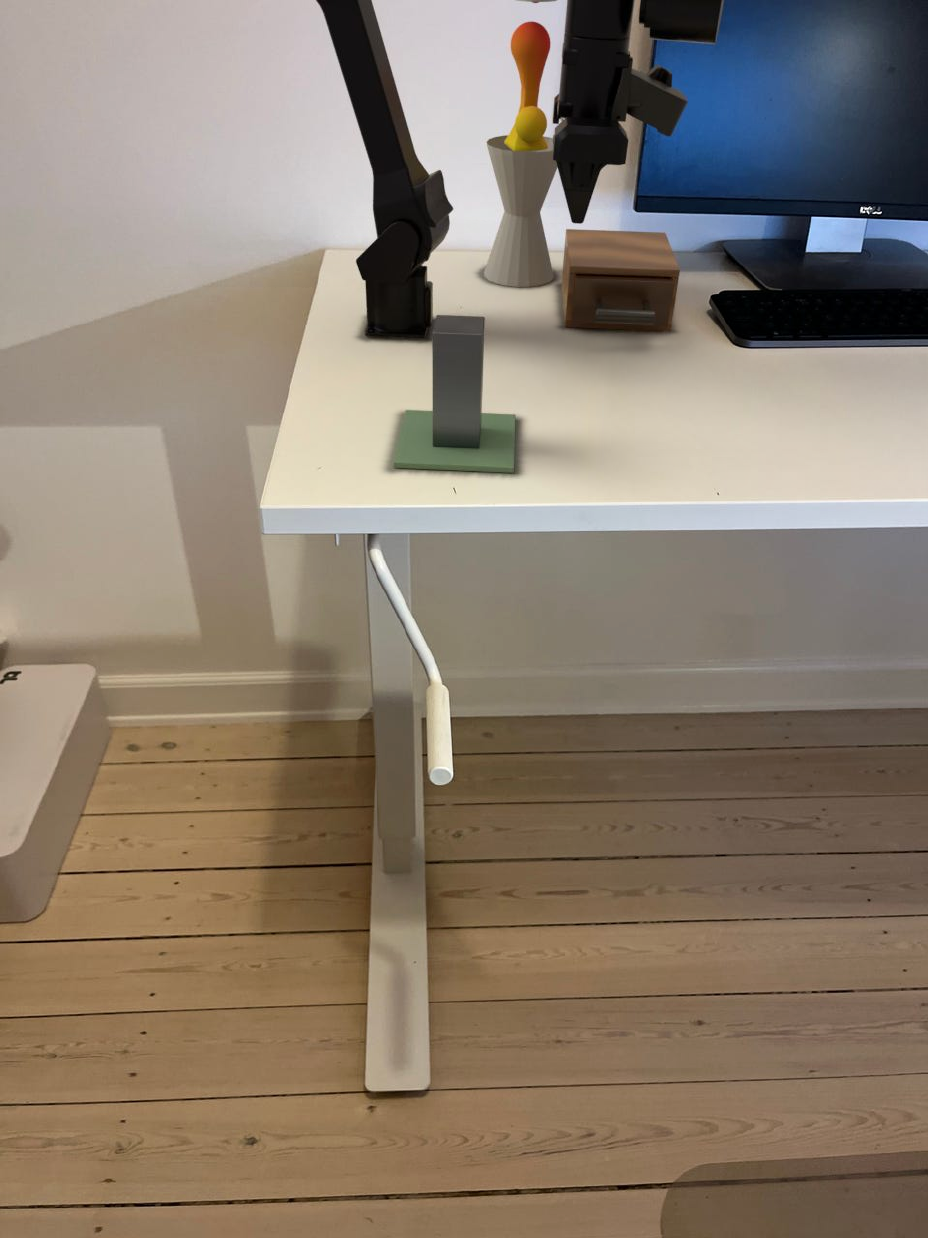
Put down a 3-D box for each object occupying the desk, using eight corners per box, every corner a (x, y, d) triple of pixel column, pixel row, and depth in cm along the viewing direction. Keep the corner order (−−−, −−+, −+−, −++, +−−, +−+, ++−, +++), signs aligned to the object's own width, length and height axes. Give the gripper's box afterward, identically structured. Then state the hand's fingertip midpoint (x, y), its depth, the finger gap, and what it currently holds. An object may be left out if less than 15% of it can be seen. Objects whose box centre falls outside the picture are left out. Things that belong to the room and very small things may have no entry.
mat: (393, 467, 80) (393, 462, 79) (405, 414, 88) (405, 409, 87) (513, 473, 79) (514, 467, 79) (515, 419, 87) (515, 414, 87)
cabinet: (670, 330, 105) (680, 269, 101) (564, 326, 105) (569, 265, 101) (657, 288, 116) (665, 232, 112) (561, 285, 116) (566, 228, 112)
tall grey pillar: (432, 446, 82) (432, 332, 76) (436, 425, 85) (436, 314, 79) (479, 448, 82) (483, 334, 75) (481, 427, 85) (484, 316, 79)
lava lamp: (474, 265, 121) (483, -76, 100) (542, 261, 123) (565, -75, 102) (493, 289, 114) (507, -72, 93) (565, 284, 116) (595, -71, 95)
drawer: (672, 343, 100) (680, 297, 97) (572, 339, 100) (577, 293, 97) (655, 287, 113) (661, 245, 110) (567, 284, 114) (571, 242, 111)
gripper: (703, 56, 76) (670, 257, 85) (678, 26, 90) (652, 201, 100) (562, 48, 76) (545, 250, 86) (560, 20, 91) (546, 194, 100)
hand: (577, 222), depth 93 cm, fingers closed
